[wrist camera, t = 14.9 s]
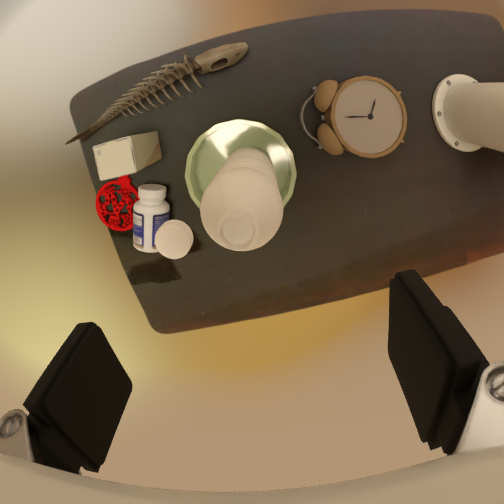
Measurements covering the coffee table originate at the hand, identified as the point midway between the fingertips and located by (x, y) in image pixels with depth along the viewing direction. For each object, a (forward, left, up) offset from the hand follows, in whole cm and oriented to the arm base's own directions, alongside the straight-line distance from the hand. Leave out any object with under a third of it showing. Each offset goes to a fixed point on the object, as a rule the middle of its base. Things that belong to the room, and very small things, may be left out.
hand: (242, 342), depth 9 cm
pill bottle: (+18, +8, -34) cm, 40 cm away
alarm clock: (-14, -4, -37) cm, 40 cm away
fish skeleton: (+11, -13, -37) cm, 41 cm away
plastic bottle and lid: (+2, +1, -36) cm, 37 cm away
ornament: (+24, +5, -37) cm, 44 cm away
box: (+15, -6, -37) cm, 41 cm away
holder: (+2, +1, -37) cm, 37 cm away
